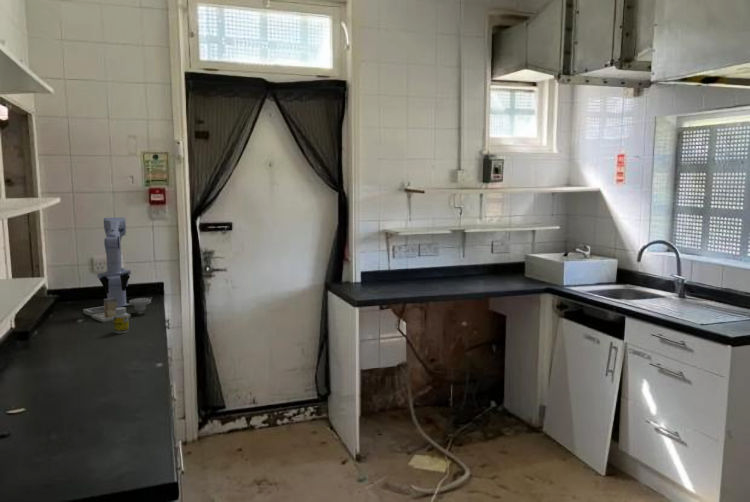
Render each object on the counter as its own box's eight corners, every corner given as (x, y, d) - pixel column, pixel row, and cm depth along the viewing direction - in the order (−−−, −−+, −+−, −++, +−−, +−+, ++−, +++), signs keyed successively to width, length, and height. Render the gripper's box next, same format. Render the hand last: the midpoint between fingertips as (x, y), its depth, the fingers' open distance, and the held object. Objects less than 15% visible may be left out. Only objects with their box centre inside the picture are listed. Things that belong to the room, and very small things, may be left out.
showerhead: (152, 299, 259) (129, 301, 254) (153, 314, 260) (130, 316, 255) (151, 295, 267) (128, 297, 263) (152, 310, 268) (129, 312, 264)
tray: (92, 318, 253) (91, 314, 253) (118, 313, 262) (118, 310, 262) (103, 322, 245) (103, 319, 245) (130, 317, 254) (130, 314, 254)
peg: (104, 316, 253) (103, 299, 252) (113, 315, 256) (112, 297, 255) (108, 318, 250) (107, 300, 249) (117, 316, 253) (116, 298, 252)
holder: (83, 313, 262) (83, 309, 262) (105, 309, 269) (105, 305, 269) (92, 316, 255) (91, 312, 255) (114, 312, 263) (114, 309, 262)
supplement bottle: (111, 332, 229) (110, 309, 228) (122, 329, 234) (120, 306, 233) (121, 334, 227) (120, 310, 226) (132, 330, 232) (130, 307, 231)
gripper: (101, 265, 252) (102, 295, 254) (133, 261, 263) (134, 290, 265) (94, 263, 257) (96, 293, 259) (126, 260, 268) (127, 288, 270)
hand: (115, 291), depth 262 cm, fingers open, 7 cm apart
